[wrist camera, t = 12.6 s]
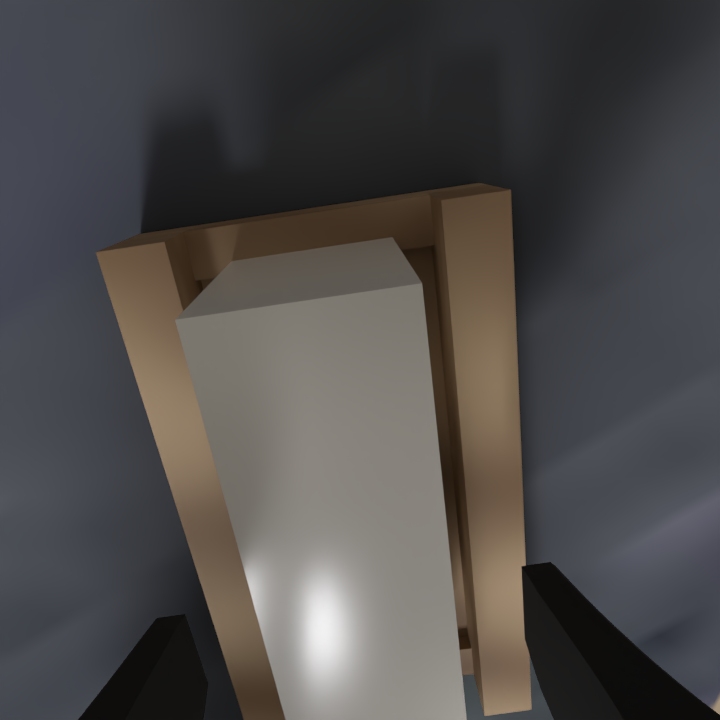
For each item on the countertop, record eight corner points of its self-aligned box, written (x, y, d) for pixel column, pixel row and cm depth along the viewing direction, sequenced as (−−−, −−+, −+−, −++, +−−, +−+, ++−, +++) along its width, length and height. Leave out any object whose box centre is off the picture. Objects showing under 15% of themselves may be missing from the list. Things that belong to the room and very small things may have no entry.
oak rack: (505, 636, 20) (531, 709, 17) (263, 670, 20) (252, 747, 17) (479, 182, 14) (511, 189, 12) (139, 233, 14) (95, 252, 12)
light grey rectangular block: (441, 653, 18) (477, 825, 14) (324, 670, 18) (320, 845, 14) (392, 237, 13) (422, 282, 9) (231, 261, 13) (174, 320, 9)
